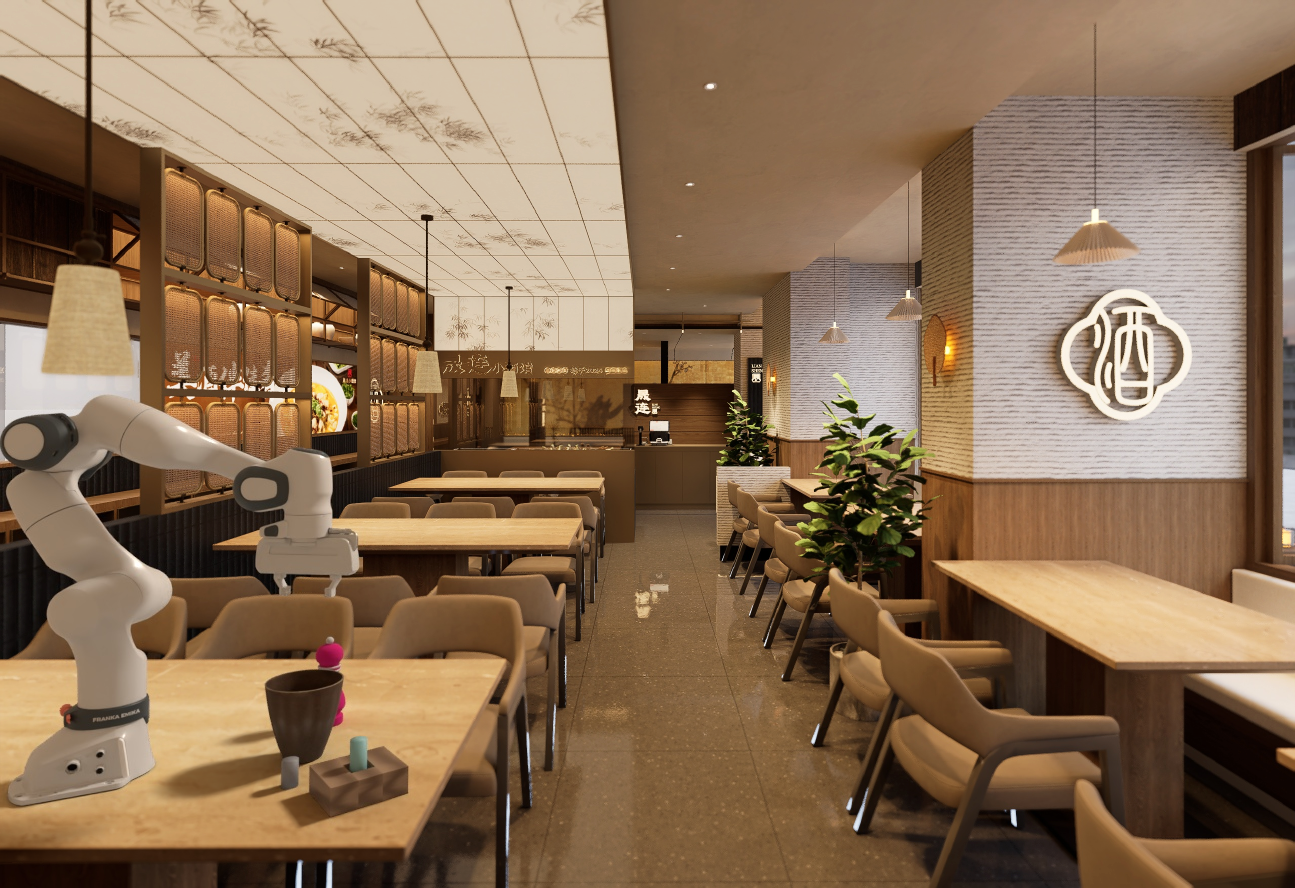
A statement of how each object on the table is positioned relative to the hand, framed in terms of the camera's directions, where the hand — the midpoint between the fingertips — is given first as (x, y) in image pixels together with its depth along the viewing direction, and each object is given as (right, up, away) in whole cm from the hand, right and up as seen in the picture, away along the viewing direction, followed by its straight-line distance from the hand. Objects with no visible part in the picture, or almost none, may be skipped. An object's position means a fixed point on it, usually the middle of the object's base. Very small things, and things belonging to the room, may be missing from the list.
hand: (307, 596), depth 149 cm
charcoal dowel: (+1, -34, -9) cm, 35 cm away
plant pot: (-2, -34, +4) cm, 35 cm away
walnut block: (+15, -34, -12) cm, 39 cm away
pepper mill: (-5, -34, +22) cm, 41 cm away
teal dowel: (+15, -34, -12) cm, 39 cm away
